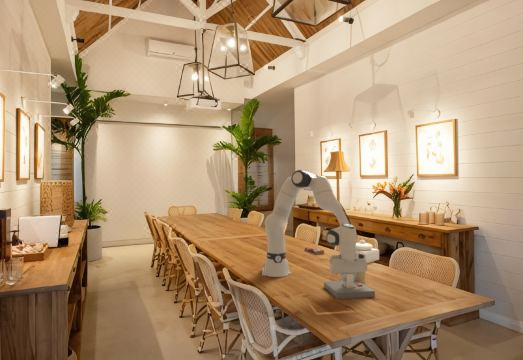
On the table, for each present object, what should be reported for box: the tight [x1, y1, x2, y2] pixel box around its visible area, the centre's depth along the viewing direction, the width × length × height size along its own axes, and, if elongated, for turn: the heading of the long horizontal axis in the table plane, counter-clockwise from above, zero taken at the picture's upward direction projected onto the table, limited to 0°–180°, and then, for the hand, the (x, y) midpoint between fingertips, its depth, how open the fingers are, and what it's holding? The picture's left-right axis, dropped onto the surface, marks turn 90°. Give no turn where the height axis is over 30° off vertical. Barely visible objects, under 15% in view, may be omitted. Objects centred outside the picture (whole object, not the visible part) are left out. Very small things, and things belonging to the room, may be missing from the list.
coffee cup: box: [352, 272, 366, 284], centre depth 204 cm, size 9×9×12 cm
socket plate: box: [323, 280, 376, 300], centre depth 185 cm, size 20×20×4 cm
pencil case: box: [304, 247, 326, 256], centre depth 281 cm, size 11×20×5 cm, turn 18°
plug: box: [343, 273, 353, 288], centre depth 186 cm, size 7×4×8 cm, turn 9°
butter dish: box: [356, 239, 380, 264], centre depth 257 cm, size 18×18×16 cm
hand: (348, 280), depth 185 cm, fingers closed on plug, 3 cm apart
